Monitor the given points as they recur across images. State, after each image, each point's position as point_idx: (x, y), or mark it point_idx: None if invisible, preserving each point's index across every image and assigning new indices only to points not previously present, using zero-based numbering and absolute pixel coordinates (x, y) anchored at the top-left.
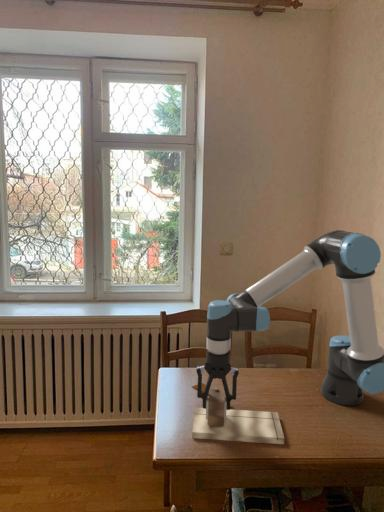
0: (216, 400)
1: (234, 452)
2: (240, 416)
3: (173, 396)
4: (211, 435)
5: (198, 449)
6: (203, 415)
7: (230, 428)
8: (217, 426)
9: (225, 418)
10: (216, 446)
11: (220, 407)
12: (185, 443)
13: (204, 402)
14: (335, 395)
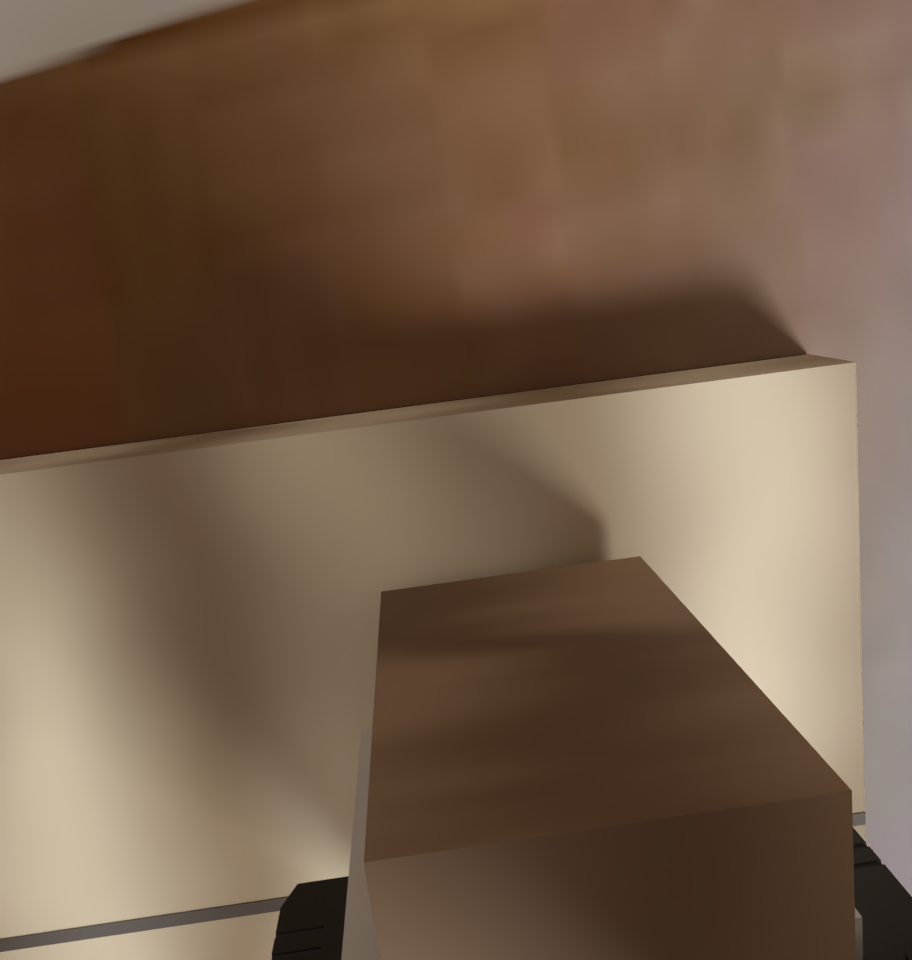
0: (619, 910)
1: (166, 169)
2: (164, 925)
3: None
4: (546, 397)
5: (691, 116)
6: None
7: (273, 597)
8: None
9: (369, 749)
10: (444, 247)
11: (470, 755)
12: (888, 211)
13: (865, 898)
14: None
